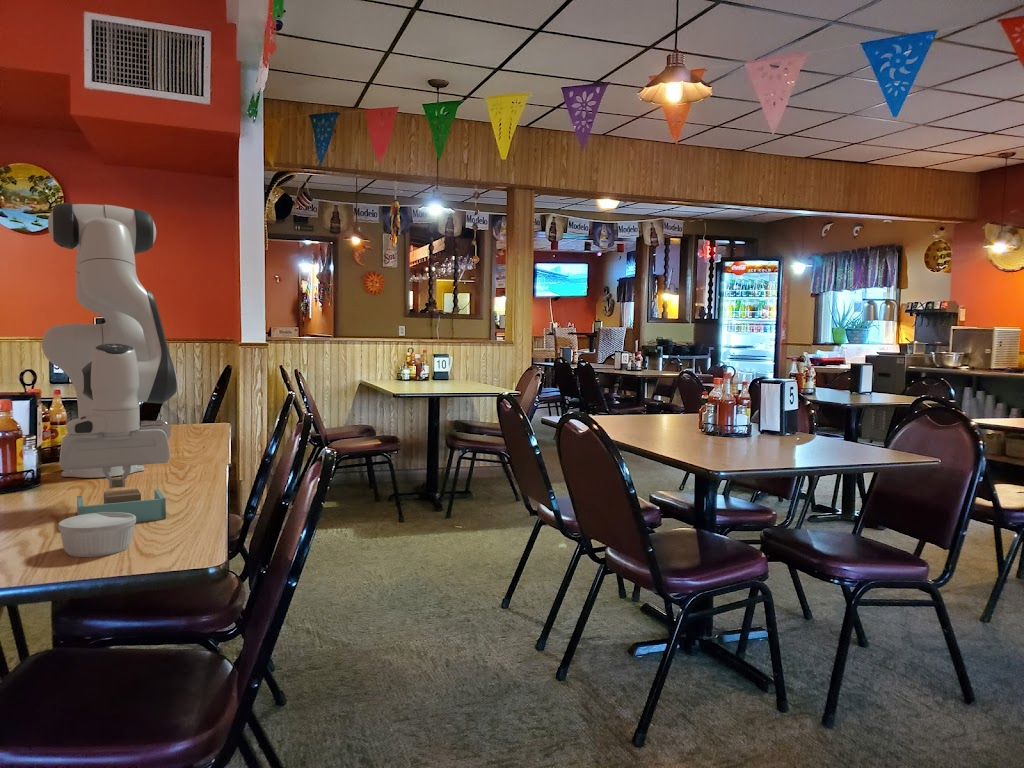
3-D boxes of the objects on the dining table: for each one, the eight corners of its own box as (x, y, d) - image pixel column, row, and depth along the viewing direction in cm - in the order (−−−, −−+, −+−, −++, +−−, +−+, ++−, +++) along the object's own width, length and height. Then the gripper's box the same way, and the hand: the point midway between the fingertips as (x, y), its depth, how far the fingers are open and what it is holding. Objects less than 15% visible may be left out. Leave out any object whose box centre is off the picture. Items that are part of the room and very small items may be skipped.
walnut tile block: (104, 516, 142) (103, 491, 142) (137, 512, 145) (137, 488, 145) (106, 522, 137) (105, 497, 137) (141, 519, 140) (140, 494, 140)
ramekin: (148, 541, 125) (148, 511, 125) (114, 560, 114) (113, 528, 113) (84, 540, 125) (83, 510, 124) (43, 560, 114) (43, 527, 113)
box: (77, 516, 141) (77, 496, 141) (158, 507, 149) (158, 489, 149) (79, 528, 132) (78, 507, 132) (165, 518, 140) (165, 498, 140)
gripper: (168, 418, 156) (169, 479, 157) (58, 422, 145) (60, 489, 146) (172, 421, 151) (173, 485, 152) (58, 426, 140) (60, 495, 141)
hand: (117, 487), depth 149 cm, fingers closed
